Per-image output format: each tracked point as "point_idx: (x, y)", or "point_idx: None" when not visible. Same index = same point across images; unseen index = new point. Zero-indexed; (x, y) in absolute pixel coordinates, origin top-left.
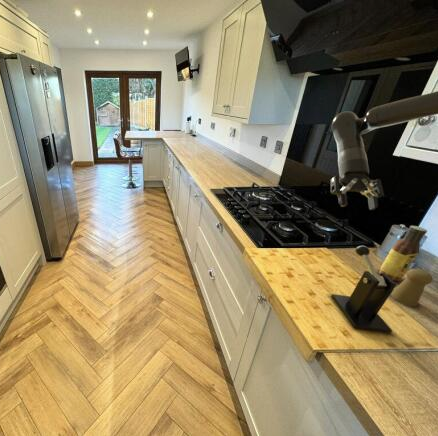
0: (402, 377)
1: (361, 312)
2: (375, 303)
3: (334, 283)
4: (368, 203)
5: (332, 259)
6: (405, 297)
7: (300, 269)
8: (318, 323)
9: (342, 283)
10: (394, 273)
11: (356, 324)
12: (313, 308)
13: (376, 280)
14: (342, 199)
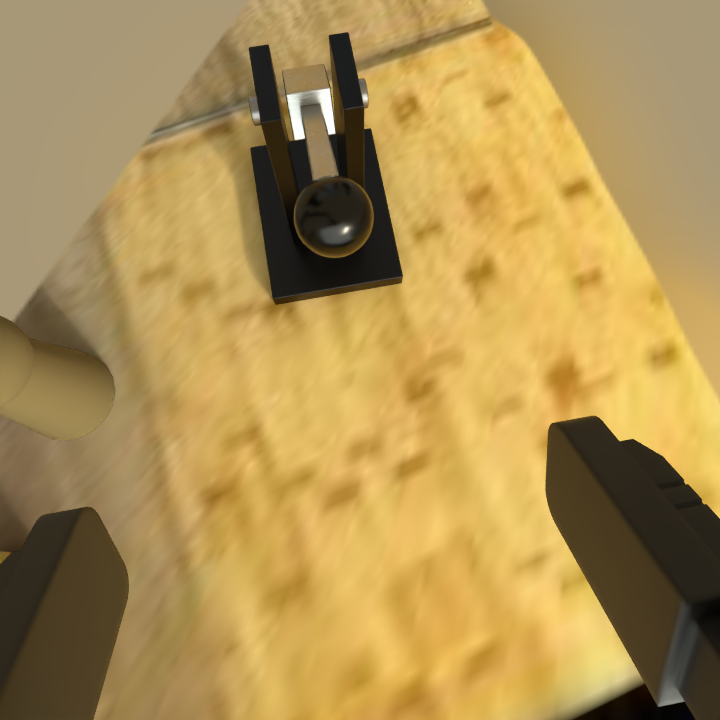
0: (306, 12)
1: None
2: (292, 160)
3: (353, 396)
4: (95, 707)
5: (281, 676)
6: (79, 354)
7: (502, 460)
8: (487, 117)
9: (312, 413)
10: (3, 556)
11: (367, 131)
12: (490, 184)
13: (340, 40)
14: (680, 497)
